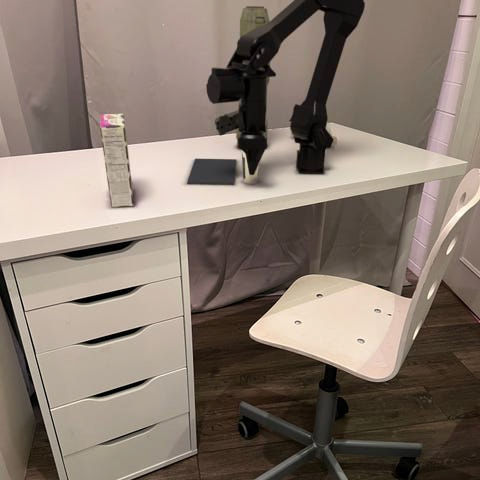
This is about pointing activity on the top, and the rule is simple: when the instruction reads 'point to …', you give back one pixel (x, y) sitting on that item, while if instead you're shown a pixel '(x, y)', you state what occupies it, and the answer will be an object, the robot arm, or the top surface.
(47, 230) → the top surface
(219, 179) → the mat
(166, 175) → the top surface
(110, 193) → the candy bar box
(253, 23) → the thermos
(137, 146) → the top surface
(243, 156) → the milkshake
